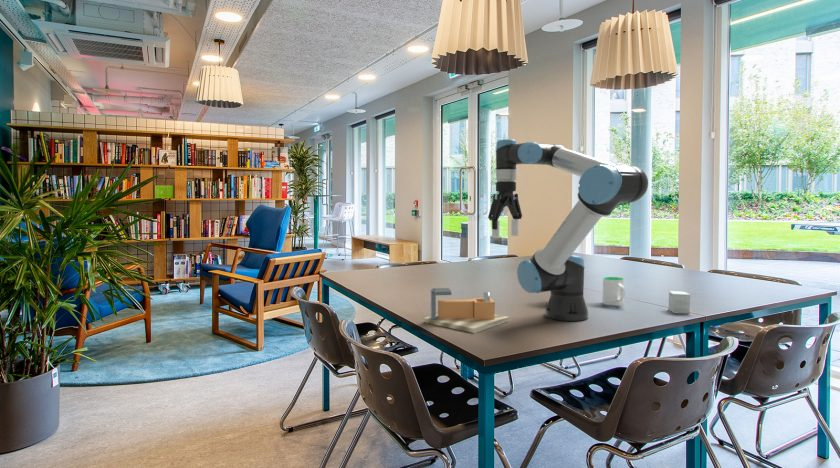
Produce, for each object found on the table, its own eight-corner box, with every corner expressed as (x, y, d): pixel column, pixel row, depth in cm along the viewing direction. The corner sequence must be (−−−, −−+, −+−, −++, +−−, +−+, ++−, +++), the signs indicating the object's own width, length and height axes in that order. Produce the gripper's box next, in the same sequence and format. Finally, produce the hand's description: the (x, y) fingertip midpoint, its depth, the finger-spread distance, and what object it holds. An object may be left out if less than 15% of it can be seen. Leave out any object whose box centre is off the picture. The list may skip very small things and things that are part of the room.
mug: (633, 307, 204) (633, 281, 204) (614, 308, 203) (615, 282, 202) (616, 301, 216) (616, 276, 215) (598, 301, 215) (599, 277, 214)
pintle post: (490, 317, 182) (491, 292, 182) (487, 318, 181) (487, 293, 180) (485, 316, 184) (485, 291, 183) (482, 317, 182) (482, 292, 182)
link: (491, 314, 187) (491, 298, 187) (494, 319, 180) (494, 302, 180) (437, 315, 186) (437, 298, 186) (438, 319, 179) (438, 302, 179)
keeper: (448, 315, 185) (448, 287, 184) (451, 320, 178) (451, 291, 177) (430, 316, 185) (430, 288, 184) (431, 321, 178) (431, 291, 177)
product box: (667, 309, 200) (668, 290, 200) (684, 310, 199) (685, 291, 198) (672, 313, 194) (673, 293, 194) (689, 313, 193) (690, 294, 192)
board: (509, 321, 183) (509, 316, 183) (474, 333, 168) (474, 328, 168) (459, 311, 198) (459, 308, 198) (423, 322, 182) (423, 318, 182)
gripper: (514, 181, 207) (514, 234, 208) (478, 180, 188) (478, 238, 190) (531, 181, 202) (530, 235, 204) (496, 180, 183) (495, 239, 185)
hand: (505, 237), depth 197 cm, fingers open, 13 cm apart
